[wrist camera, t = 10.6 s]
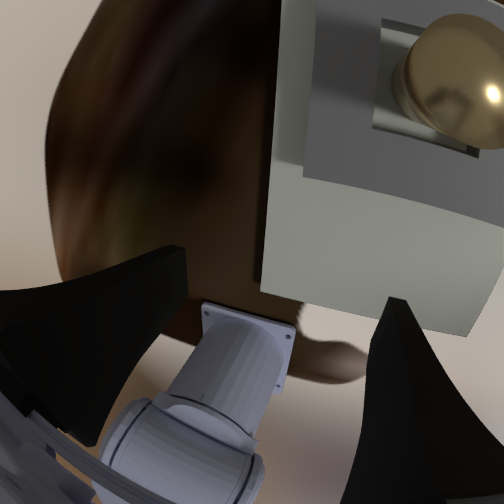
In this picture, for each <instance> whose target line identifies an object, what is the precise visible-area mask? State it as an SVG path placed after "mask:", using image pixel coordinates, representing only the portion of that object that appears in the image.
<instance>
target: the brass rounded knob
mask: <svg viewBox="0 0 504 504" xmlns="http://www.w3.org/2000/svg"><path fill="white" fill-rule="evenodd" d="M391 89H392V94H393V97H394V99H395V101H396V103H397V105H398V107H399V108H400V109H401V111H402V112H403V113H404V114H405V115H406V116H407V117H409V118H410V119H412V120H413V121H415V122H417V123H419V124H422V125H424V126H427V127H429V128H432V129H434V130H436V131H439V132H441V133H443V134H446V135H448V136H450V137H452V138H455V139H457V140H459V141H461V142H463V143H465V144H468V145H470V146H473V147H476V148H480V149H487V150H494V149H501V148H504V32H503V31H502V30H501V29H500V28H498V27H497V26H496V25H494V24H492V23H491V22H489V21H487V20H485V19H483V18H480V17H477V16H474V15H469V14H459V13H457V14H449V15H446V16H443V17H441V18H439V19H437V20H435V21H434V22H432V23H431V24H430V25H429V26H428V27H427V28H426V29H425V31H424V32H423V33H422V34H421V35H420V37H419V38H418V39H417V40H416V42H415V43H414V44H413V45H412V46H411V48H410V49H409V50H408V51H407V53H406V54H405V55H404V56H403V57H402V59H401V60H400V61H399V62H398V64H397V65H396V66H395V68H394V70H393V73H392V77H391Z"/></svg>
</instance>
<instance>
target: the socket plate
mask: <svg viewBox="0 0 504 504" xmlns="http://www.w3.org/2000/svg"><path fill="white" fill-rule="evenodd" d="M457 13H459V14H469V15H474V16H477V17H480V18H483V19H485V20H487V21H489V22H491V23H492V24H494V25H496V26H497V27H498V28H500V29H501V30H502V31H503V32H504V5H502V4H500V3H498V2H495V1H493V0H282V7H281V24H280V41H279V56H278V72H277V86H276V101H275V115H274V129H273V143H272V156H271V169H270V182H269V195H268V207H267V220H266V232H265V244H264V256H263V267H262V279H261V290H260V291H262V292H266V293H270V294H274V295H278V296H282V297H286V298H290V299H294V300H298V301H302V302H306V303H310V304H315V305H318V306H323V307H327V308H331V309H335V310H340V311H344V312H348V313H353V314H357V315H361V316H366V317H370V318H375V319H379V320H380V318H381V315H382V313H383V310H384V308H385V305H386V303H387V300H388V297H389V296H391V297H395V298H399V299H404V300H406V301H407V303H408V304H409V306H410V308H411V310H412V312H413V314H414V316H415V318H416V320H417V322H418V323H419V325H420V327H421V328H422V329H427V330H432V331H437V332H443V333H447V334H452V335H458V336H463V337H467V335H468V334H469V332H470V330H471V329H472V327H473V325H474V323H475V322H476V320H477V318H478V316H479V315H480V313H481V311H482V309H483V307H484V305H485V303H486V302H487V299H488V298H489V296H490V294H491V292H492V290H493V288H494V285H495V284H496V282H497V280H498V277H499V275H500V273H501V271H502V269H503V266H504V148H501V149H494V150H487V149H480V148H476V147H473V146H470V145H468V144H465V143H463V142H461V141H459V140H457V139H455V138H452V137H450V136H448V135H446V134H443V133H441V132H439V131H436V130H434V129H432V128H429V127H427V126H424V125H422V124H419V123H417V122H415V121H413V120H412V119H410V118H409V117H407V116H406V115H405V114H404V113H403V112H402V111H401V109H400V108H399V107H398V105H397V103H396V101H395V99H394V97H393V94H392V89H391V77H392V73H393V70H394V68H395V66H396V65H397V64H398V62H399V61H400V60H401V59H402V57H403V56H404V55H405V54H406V53H407V51H408V50H409V49H410V48H411V46H412V45H413V44H414V43H415V42H416V40H417V39H418V38H419V37H420V35H421V34H422V33H423V32H424V31H425V29H426V28H427V27H428V26H429V25H430V24H431V23H432V22H434V21H435V20H437V19H439V18H441V17H443V16H446V15H449V14H457Z"/></svg>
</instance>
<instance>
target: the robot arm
mask: <svg viewBox="0 0 504 504" xmlns="http://www.w3.org/2000/svg"><path fill="white" fill-rule="evenodd" d="M188 293H189V291H188V280H187V267H186V254H185V248H183V247H179V246H175V245H168V246H164V247H161V248H158V249H156V250H153V251H150V252H148V253H145V254H143V255H140V256H138V257H135V258H133V259H130V260H128V261H125V262H123V263H120V264H118V265H115V266H112V267H110V268H107V269H104V270H102V271H99V272H96V273H93V274H90V275H87V276H84V277H81V278H77V279H73V280H70V281H66V282H61V283H57V284H52V285H48V286H42V287H37V288H29V289H20V290H1V291H0V504H95V503H93V502H92V501H91V500H92V498H93V497H94V496H95V494H96V493H97V495H98V497H99V499H100V501H101V502H102V504H253V503H254V501H255V499H256V497H257V495H258V493H259V491H260V488H261V486H262V483H263V479H264V475H265V467H264V464H263V460H262V457H261V456H260V455H258V454H256V453H254V452H255V449H256V447H257V445H258V442H259V441H258V440H256V439H254V436H255V434H256V431H257V429H258V426H259V424H260V421H261V419H262V417H263V415H264V412H265V410H266V407H267V405H268V402H269V400H270V397H271V394H272V393H275V394H281V393H282V390H283V386H284V382H285V378H286V374H287V370H288V365H289V361H290V357H291V352H292V348H293V343H294V339H295V334H296V329H295V327H293V326H291V325H288V324H284V323H280V322H277V321H273V320H269V319H265V318H262V317H258V316H254V315H251V314H247V313H244V312H240V311H237V310H233V309H230V308H226V307H223V306H220V305H216V304H213V303H209V302H204V303H203V304H202V306H201V311H202V325H203V338H202V339H201V341H200V342H199V344H198V345H197V346H196V348H195V349H194V351H193V352H192V354H191V355H190V357H189V358H188V360H187V361H186V363H185V364H184V366H183V367H182V369H181V370H180V372H179V373H178V374H177V376H176V377H175V379H174V380H173V382H172V383H171V385H170V386H169V388H168V389H167V391H166V392H165V393H163V392H161V391H160V392H159V393H158V394H157V396H156V397H155V399H154V400H153V401H152V400H150V399H149V398H147V397H143V398H141V399H137V400H133V401H131V402H130V403H129V404H128V405H127V406H126V407H125V408H124V409H123V410H122V411H121V412H120V413H119V415H118V416H117V417H116V419H115V420H114V421H113V423H112V424H111V426H110V428H109V429H108V431H107V433H106V435H105V437H104V439H103V441H102V443H101V446H100V451H99V457H98V459H96V458H95V457H93V456H92V455H90V454H89V453H87V452H86V451H85V450H83V449H82V448H81V447H79V446H78V445H76V444H75V443H74V442H73V441H71V440H70V439H68V438H67V437H66V436H65V435H63V434H62V433H61V432H60V431H58V430H57V428H59V429H61V430H62V431H63V432H64V433H68V434H69V435H71V436H72V437H73V438H75V439H76V440H77V441H79V442H80V443H81V444H83V445H84V446H86V447H93V446H96V444H97V441H98V438H99V436H100V433H101V431H102V428H103V426H104V424H105V421H106V419H107V417H108V415H109V413H110V411H111V408H112V407H113V404H114V402H115V400H116V399H117V397H118V395H119V393H120V391H121V389H122V388H123V386H124V383H125V382H126V380H127V379H128V377H129V376H130V374H131V372H132V371H133V369H134V367H135V366H136V364H137V363H138V361H139V360H140V358H141V357H142V356H143V354H144V353H145V352H146V351H147V349H148V348H149V347H150V346H151V344H152V343H153V342H154V341H155V340H156V338H157V337H158V336H159V335H160V333H161V332H162V331H163V330H164V328H165V327H166V326H167V325H168V323H169V322H170V321H171V320H172V318H173V317H174V316H175V315H176V313H177V312H178V310H179V308H180V307H181V305H182V303H183V302H184V300H185V298H186V296H187V295H188ZM288 335H290V336H288ZM55 452H57V453H58V454H59V455H60V456H62V457H63V458H64V459H65V460H67V461H68V462H69V463H70V464H72V465H73V466H74V467H75V468H77V469H78V470H79V471H81V472H82V473H84V474H85V475H86V476H88V477H89V478H91V483H92V485H93V487H94V489H93V488H91V487H90V486H88V485H87V484H86V483H84V482H83V481H81V480H80V479H79V478H77V477H76V476H75V475H74V474H72V473H71V472H70V471H68V470H67V469H66V468H64V467H63V466H62V465H61V464H59V463H58V462H57V460H56V453H55ZM340 504H504V446H503V445H502V444H501V443H500V442H499V441H498V440H497V439H496V438H495V437H494V436H493V434H491V432H490V431H489V430H488V429H487V428H486V427H485V425H484V424H483V423H482V422H481V421H480V420H479V418H478V417H477V416H476V414H475V413H474V412H473V411H472V409H471V408H470V407H469V406H468V404H467V403H466V402H465V400H464V399H463V398H462V396H461V395H460V393H459V392H458V390H457V389H456V387H455V386H454V384H453V383H452V381H451V380H450V378H449V377H448V375H447V374H446V372H445V370H444V369H443V367H442V365H441V364H440V362H439V360H438V359H437V357H436V355H435V353H434V352H433V350H432V348H431V346H430V344H429V343H428V341H427V339H426V337H425V335H424V333H423V331H422V329H421V327H420V325H419V323H418V322H417V320H416V318H415V316H414V314H413V312H412V310H411V308H410V306H409V304H408V303H407V301H406V300H404V299H399V298H395V297H391V296H389V297H388V300H387V303H386V305H385V308H384V310H383V313H382V315H381V318H380V320H379V323H378V325H377V327H376V330H375V332H374V334H373V337H372V339H371V343H370V348H369V354H368V361H367V368H366V384H365V397H364V411H363V420H362V427H361V434H360V438H359V443H358V447H357V451H356V455H355V458H354V462H353V466H352V469H351V472H350V476H349V479H348V482H347V485H346V488H345V491H344V493H343V496H342V499H341V502H340Z"/></svg>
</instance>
